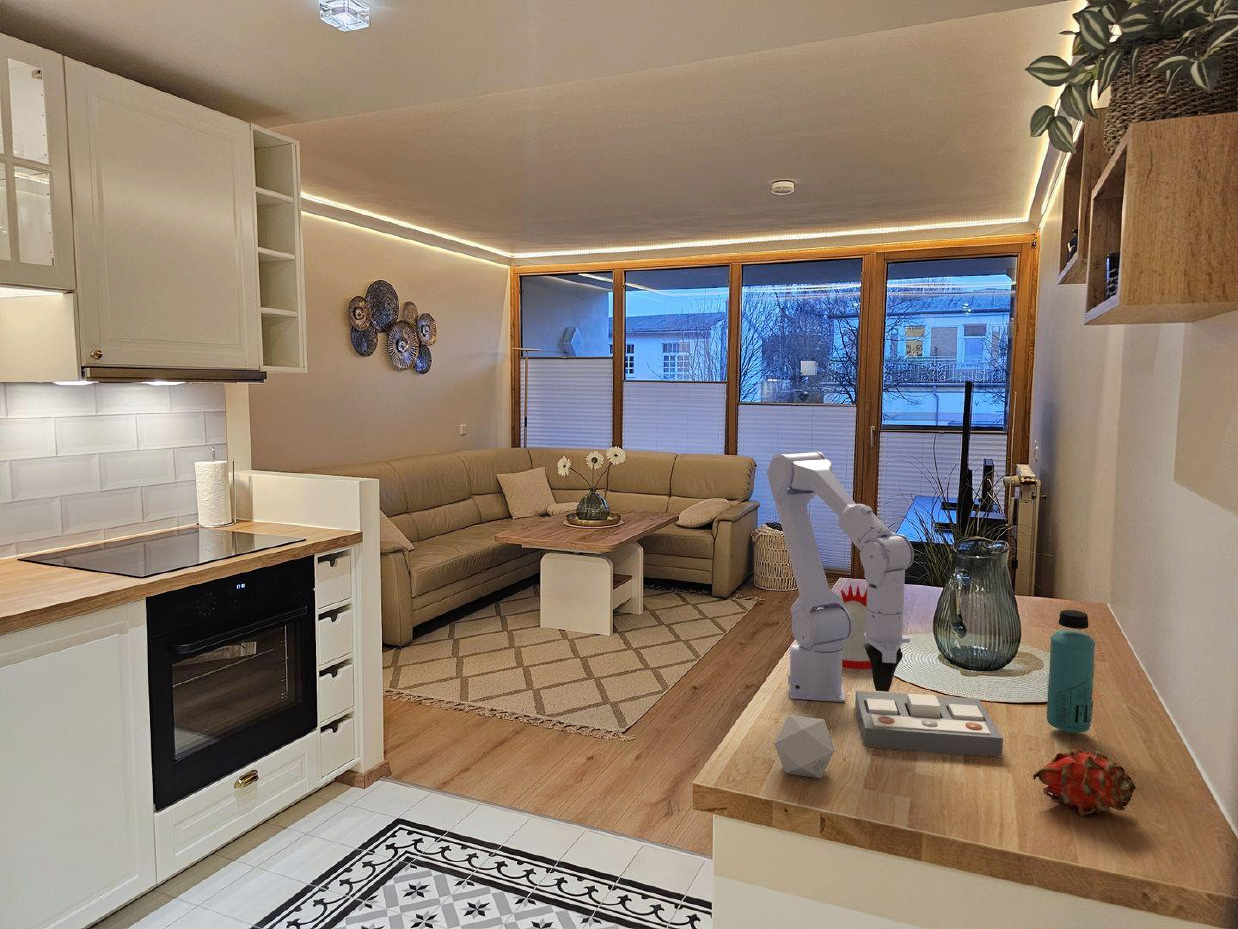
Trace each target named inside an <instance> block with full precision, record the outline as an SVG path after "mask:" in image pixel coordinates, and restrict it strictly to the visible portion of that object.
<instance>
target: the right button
mask: <svg viewBox="0 0 1238 929" xmlns="http://www.w3.org/2000/svg"><path fill="white" fill-rule="evenodd" d="M948 712H949V714H950V716H951V718H952V719H963V720H977V721H983V715H982V714H981V712H980V710H979V709H978V707H977V706H974V705H958V704H948Z"/></svg>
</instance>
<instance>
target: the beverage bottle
mask: <svg viewBox="0 0 1238 929" xmlns="http://www.w3.org/2000/svg"><path fill="white" fill-rule="evenodd" d="M1058 625H1059V626H1062V627H1064V629H1059V630H1058V631H1056V632H1054V633H1053V634H1052V635H1050V637H1049V638H1050V646H1049V647H1050V648H1049V649H1050V652H1049V653H1050V654H1049V671H1048V672H1049V673H1048V679H1047V687H1046V689H1047V692H1046V694H1047V700H1046V702H1045V703H1046V704H1045V705H1046V707H1045V708H1046V709H1045V713H1046V716H1045V717H1046V720H1047V723H1048V725H1050V726H1051V727H1053V728H1055V729H1057V730H1060V731H1064V732H1069V733H1076V734H1077V733H1087V732H1088V731H1089V730H1090V728H1091V726H1092V724H1093V722H1092V721H1093V718H1092V715H1093V707H1094V703H1093V702H1094V700H1093V696H1094V695H1093V692H1094V690H1093V687H1094V684H1093V683H1094V677H1095V670H1096V669H1095V668H1096V667H1095V666H1096V665H1095V648H1096V647H1095V646H1096V641H1095V640H1094V639H1093V638H1092V637H1091V636H1090V634H1088V633H1087V632H1084V631H1081V630H1086V629H1088V628H1089V616H1088V613H1086V612H1083V611H1080V610H1076V609H1064V610H1061V611H1060V612H1059V618H1058ZM1065 628H1067V629H1065Z"/></svg>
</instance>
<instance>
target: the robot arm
mask: <svg viewBox="0 0 1238 929" xmlns="http://www.w3.org/2000/svg"><path fill="white" fill-rule="evenodd" d="M766 474H767V479H768V483H769V486H770V490H771V496H772V499H773V501H774V502H775V507H776V510H777V514H778V518H779V521H780V526H781V529H782V532H783V533H782V534H783V536H784V537H783V538H784V541H785V545H786V549H787V552H788V556H789V559H790V564H791V567H792V568H791V569H792V571H793V573H794V574H793V575H794V579H795V581H796V586H797V589H798V594H799V595H798V597H797V599H796V600H795V601H794V603H793V604H792V605H791V607H790V609H789V610H790V614H791V631H792V635H793V637H794V640H795V641H796V642H797V643H790V649H789V650H790V652H789V653H790V655H789V656H790V657H789V673H788V675H787V684H788V685H789V694H790V696H789V697H790V699H796V700H807V701H821V702H822V701H823V702H824V701H825V702H835V703H836V702H838V703H844V702H846V696H845V691H844V687H843V667H842V654H843V646H846V640H847V639H849V638H850V637H851V635H852V633H853V620H852V617H851V615H850V613H849V612H848V610H847V609H846V607H845V605H844V601H843V598H842V595H839V594H838V593H836V592H834V591H833V590H832V589H830V587H829V584H828V583H829V582H828V580H827V576H826V572H825V569H824V566H823V561H822V557H821V554H820V551H819V548H818V544H817V540H816V537H815V533H814V529H813V526H812V522H811V519H810V514H809V511H808V508H807V506H808V504H809V502H810V501H811V500H812V499H814V498H815V496H816V495H817V497H819V498H820V499H821V500H822V501H823V502H824V503H825V504H826V505H827V506H828V507H829V508H830V509H831V510H833V512H834V513H835V514H836V515H837V516H838V517H839V519H838V526H839V528H840V529H841V530H842V532H843V533H844V534H845V535H846V536H847V537H848V539H849V540H850V541H851V542H852V543H853V544H854V545H855V547H856V548H857V549H858V551H860V552H859V558H860V563H861V565H862V567H863V571H864V576H863V577H864V578H865V582H866V589H867V608H866V632H865V633H864V639H865V641H867V642H868V644H865V645H864V646H865V649H866V653H867V655H868V657H869V659H870V663H871V673H872V674H871V675H872V680H873V686H874V689H875V692H883V693H890V692H889V691H890V689H891V686H892V682H893V678H894V675H895V672H896V669H897V667H898V665H899V664H900V662H902V659H903V657H904V654H903V652H902V648H901V647H902V645H903V644H909V643H910V642H911V638H910V636H909V635H907V634H903V631H904V630H903V626H904V608H905V607H904V603H905V578H906V577H905V576H906V570H907V569H909V568H910V567H911V566H912V564H913V563H914V558H915V552H914V547H913V546H912V543H911V541H909V539H908V537H907V536H906V535H904V534H901V533H895V532H894V531H891V530H890V529H889V528H888V527H887V526H886V525H885V524H884V523H883V522H882V520H880V519H879V517H878V516H877V515H876V514H875V513H874V512H873V509H872V508H871V506H869V505H866V504H864V503H856V502H855V501H854V500H853V499H852V497H851V496H850V494H849V493H848V492H847V491H846V490H845V488H844V487H843V485H842V484H841V483H840V482H839V480H838V478H837V477H836V476H835V475H834V473H833V466H832V462H831V461H830V460H828V459H827V457H826V456H825V454H823V453H822V451H821V452H820V451H812V452H799V453H798V452H797V453H786V454H785V453H777V454H775V455H774V456H773V457H772V458H771V460H770V463H769V465H768V468H767V472H766ZM818 608H820V609H818ZM812 609H814V610H812Z"/></svg>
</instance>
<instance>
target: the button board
mask: <svg viewBox="0 0 1238 929" xmlns="http://www.w3.org/2000/svg"><path fill="white" fill-rule="evenodd" d="M907 694H908V693H897V692H894V693H893V692H883V691H863V690H855V704H854V707H855V712H856V716H857V720H858V725H859V730H860V733H861V738H862V741H863V744H864V745H863V746H864V747H865V748H878V749H889V750H890V749H891V750H892V749H893V750H903V751H917V752H932V753H945V754H954V755H956V754H958V755H968V754H969V755H972V756H981V755H983V756H985V755H987V756H985V757H994V756H1002V757H1003V745H1004V737H1003V736H1002V734H1001V732H1000V731H999V729H998V727H997V726H996V725H995V722H994V720H992V718H991V716H990V715H989V713H988V712H987V710H986V707H984V705H983V704H982V702H981V700H980V699H979V698H975V697H958V696H956V697H955V696H942V695H941V696H940V695H935V696H936V698H937V700H938V702H939V704H940V706H941V707H940V718H934V717H919V716H911V714H910V712H909V709H908V707H907ZM866 699H882V700H894V702H895V705H896V708H897V711H898V715H890V714H875V713H867V711H866ZM948 704H958V705H974V706H977V707H978V709H979V710H980V712H981V714H982V715H983V721H977V720H963V719H952V718H951V716H950V714H949V712H948Z"/></svg>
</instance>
